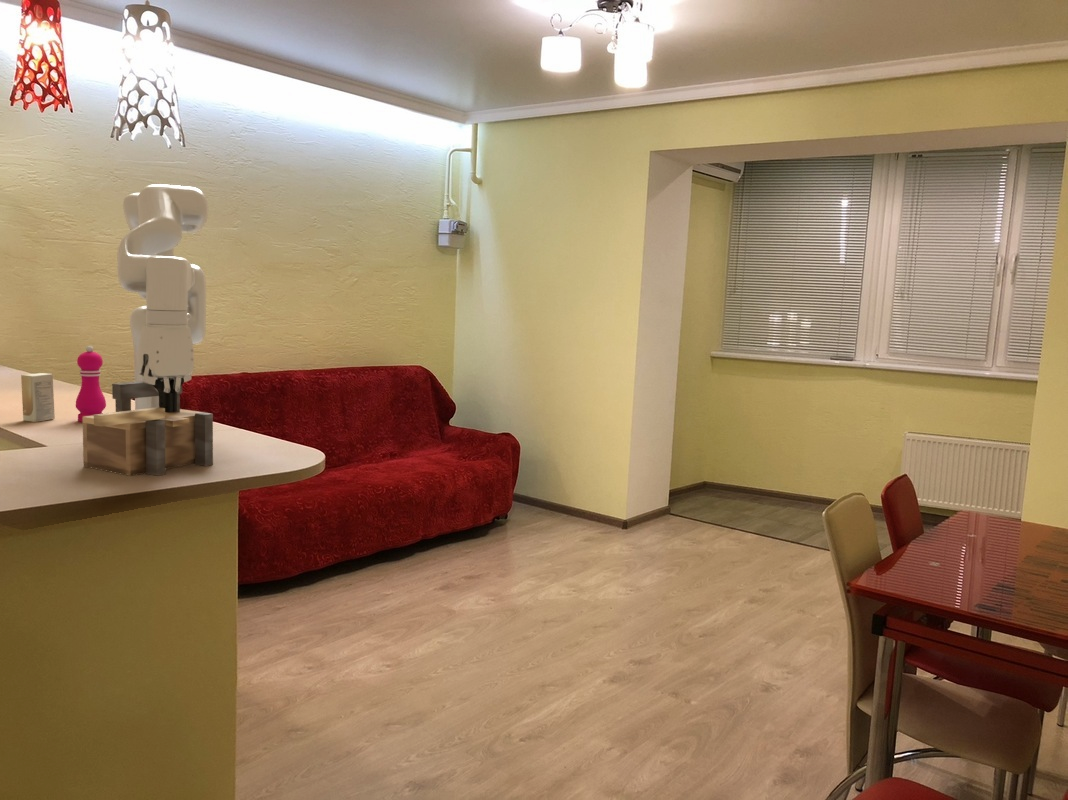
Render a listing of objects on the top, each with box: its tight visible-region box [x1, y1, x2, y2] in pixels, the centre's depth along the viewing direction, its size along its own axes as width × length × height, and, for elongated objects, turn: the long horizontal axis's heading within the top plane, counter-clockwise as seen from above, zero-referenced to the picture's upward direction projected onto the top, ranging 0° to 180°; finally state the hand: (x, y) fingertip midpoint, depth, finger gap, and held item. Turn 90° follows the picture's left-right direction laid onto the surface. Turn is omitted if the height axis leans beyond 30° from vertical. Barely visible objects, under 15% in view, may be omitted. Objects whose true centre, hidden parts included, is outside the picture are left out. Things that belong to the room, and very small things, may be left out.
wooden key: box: [94, 407, 165, 427], centre depth 163 cm, size 14×2×2 cm, turn 153°
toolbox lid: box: [82, 380, 212, 430], centre depth 177 cm, size 20×16×8 cm
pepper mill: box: [75, 345, 107, 423], centre depth 227 cm, size 7×7×20 cm
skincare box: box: [20, 372, 56, 423], centre depth 224 cm, size 6×4×12 cm
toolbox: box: [82, 411, 214, 477], centre depth 177 cm, size 20×18×11 cm
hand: (168, 411), depth 171 cm, fingers closed
